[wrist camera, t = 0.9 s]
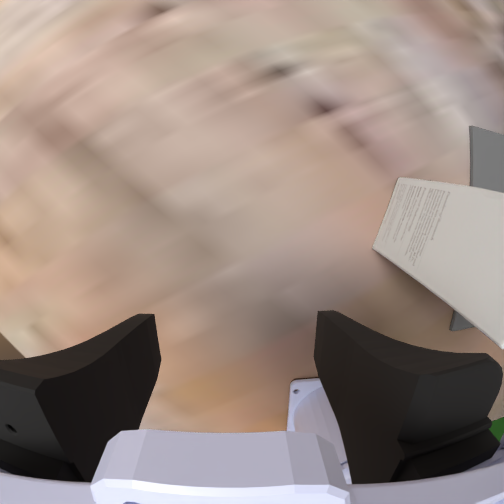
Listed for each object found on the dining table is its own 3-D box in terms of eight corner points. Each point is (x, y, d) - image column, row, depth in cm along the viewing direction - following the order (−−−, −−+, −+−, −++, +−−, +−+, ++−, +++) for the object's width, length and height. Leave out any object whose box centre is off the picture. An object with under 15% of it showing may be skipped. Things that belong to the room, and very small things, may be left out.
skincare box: (467, 215, 21) (612, 263, 7) (442, 281, 23) (570, 370, 8) (391, 173, 20) (566, 193, 6) (363, 251, 22) (507, 359, 7)
